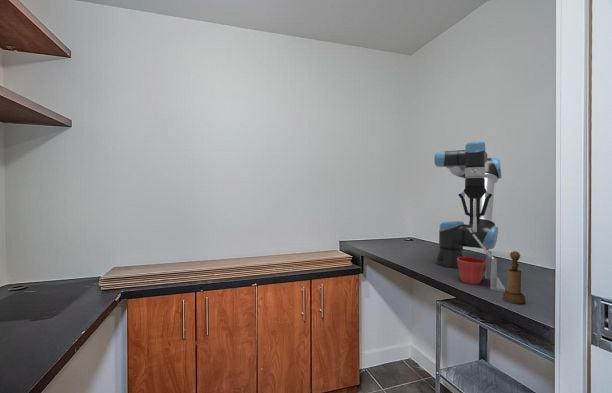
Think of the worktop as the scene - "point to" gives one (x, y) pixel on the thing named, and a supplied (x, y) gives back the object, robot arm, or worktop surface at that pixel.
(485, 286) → the worktop surface
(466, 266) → the flower pot
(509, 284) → the brown tall piece
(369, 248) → the worktop surface
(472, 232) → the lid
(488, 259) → the hinge bracket
